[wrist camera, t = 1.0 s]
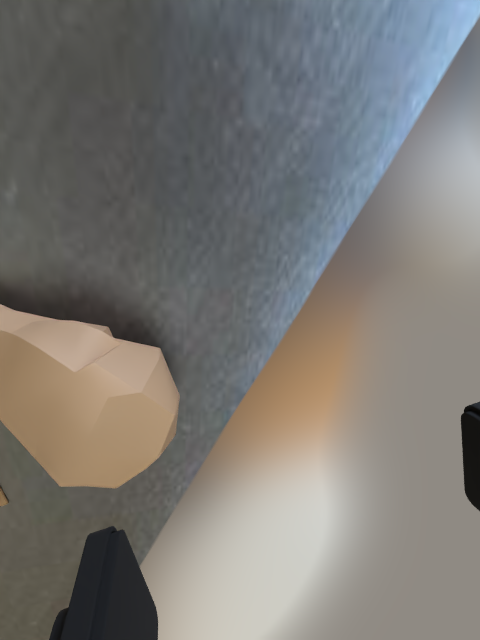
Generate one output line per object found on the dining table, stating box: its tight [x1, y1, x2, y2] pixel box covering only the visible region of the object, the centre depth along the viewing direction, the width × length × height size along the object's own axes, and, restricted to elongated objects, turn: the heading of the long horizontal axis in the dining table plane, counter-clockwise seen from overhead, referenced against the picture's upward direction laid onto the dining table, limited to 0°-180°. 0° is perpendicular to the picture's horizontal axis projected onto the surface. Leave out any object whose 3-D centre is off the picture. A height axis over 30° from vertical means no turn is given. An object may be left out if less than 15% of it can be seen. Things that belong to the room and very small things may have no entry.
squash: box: [0, 304, 180, 488], centre depth 24 cm, size 11×20×9 cm, turn 59°
